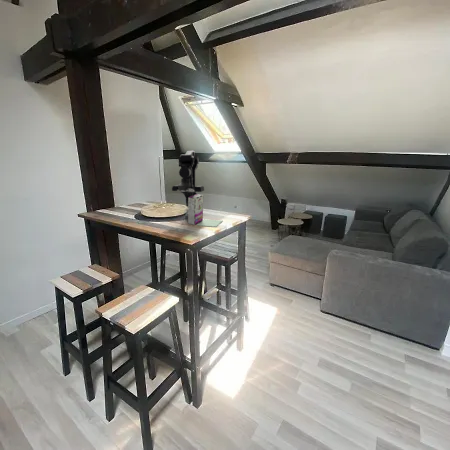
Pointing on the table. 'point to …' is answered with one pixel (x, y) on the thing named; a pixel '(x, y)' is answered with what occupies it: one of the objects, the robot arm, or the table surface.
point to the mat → (209, 223)
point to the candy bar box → (195, 209)
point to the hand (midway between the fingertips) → (188, 202)
